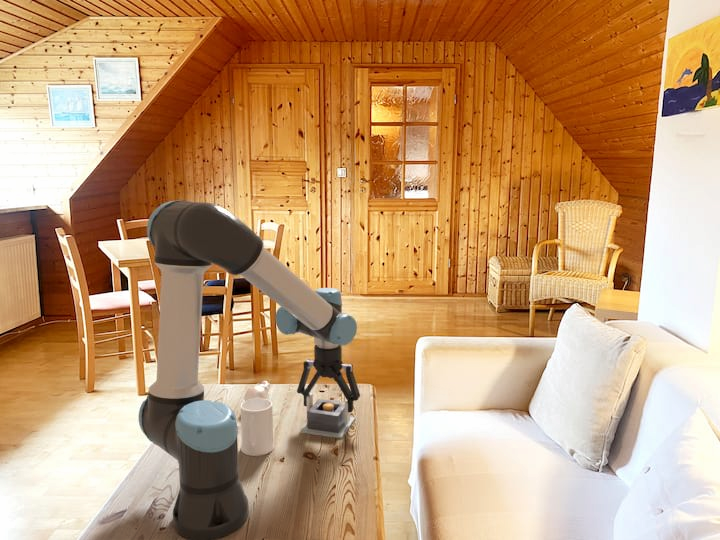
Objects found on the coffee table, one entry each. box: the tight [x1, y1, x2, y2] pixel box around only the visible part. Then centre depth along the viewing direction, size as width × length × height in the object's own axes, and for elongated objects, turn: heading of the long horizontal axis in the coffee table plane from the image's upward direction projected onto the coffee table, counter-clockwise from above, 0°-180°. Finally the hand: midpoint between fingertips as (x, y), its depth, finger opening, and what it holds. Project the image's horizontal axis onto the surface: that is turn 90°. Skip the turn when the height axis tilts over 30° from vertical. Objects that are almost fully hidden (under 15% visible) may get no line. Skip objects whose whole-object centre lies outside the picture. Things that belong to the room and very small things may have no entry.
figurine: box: [243, 380, 271, 401], centre depth 167 cm, size 11×7×15 cm
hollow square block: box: [306, 398, 345, 433], centre depth 153 cm, size 9×9×5 cm
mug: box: [239, 398, 275, 457], centre depth 139 cm, size 12×8×12 cm
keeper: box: [300, 403, 356, 439], centre depth 153 cm, size 12×12×6 cm
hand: (328, 419), depth 154 cm, fingers open, 11 cm apart
